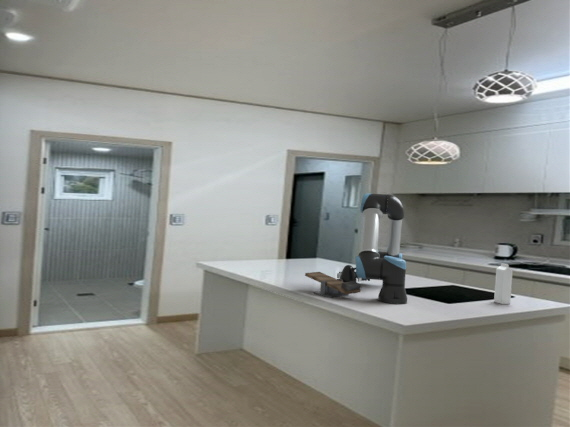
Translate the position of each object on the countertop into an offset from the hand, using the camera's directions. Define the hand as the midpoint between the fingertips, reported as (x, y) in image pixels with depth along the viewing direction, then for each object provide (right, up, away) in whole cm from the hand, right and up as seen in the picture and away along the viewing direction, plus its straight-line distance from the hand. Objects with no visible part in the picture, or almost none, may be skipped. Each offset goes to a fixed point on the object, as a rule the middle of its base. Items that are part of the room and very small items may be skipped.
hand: (347, 277), depth 273 cm
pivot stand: (-11, -8, -14) cm, 19 cm away
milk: (+85, -13, -8) cm, 87 cm away
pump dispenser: (0, -8, 0) cm, 8 cm away
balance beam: (-10, -2, -14) cm, 17 cm away
